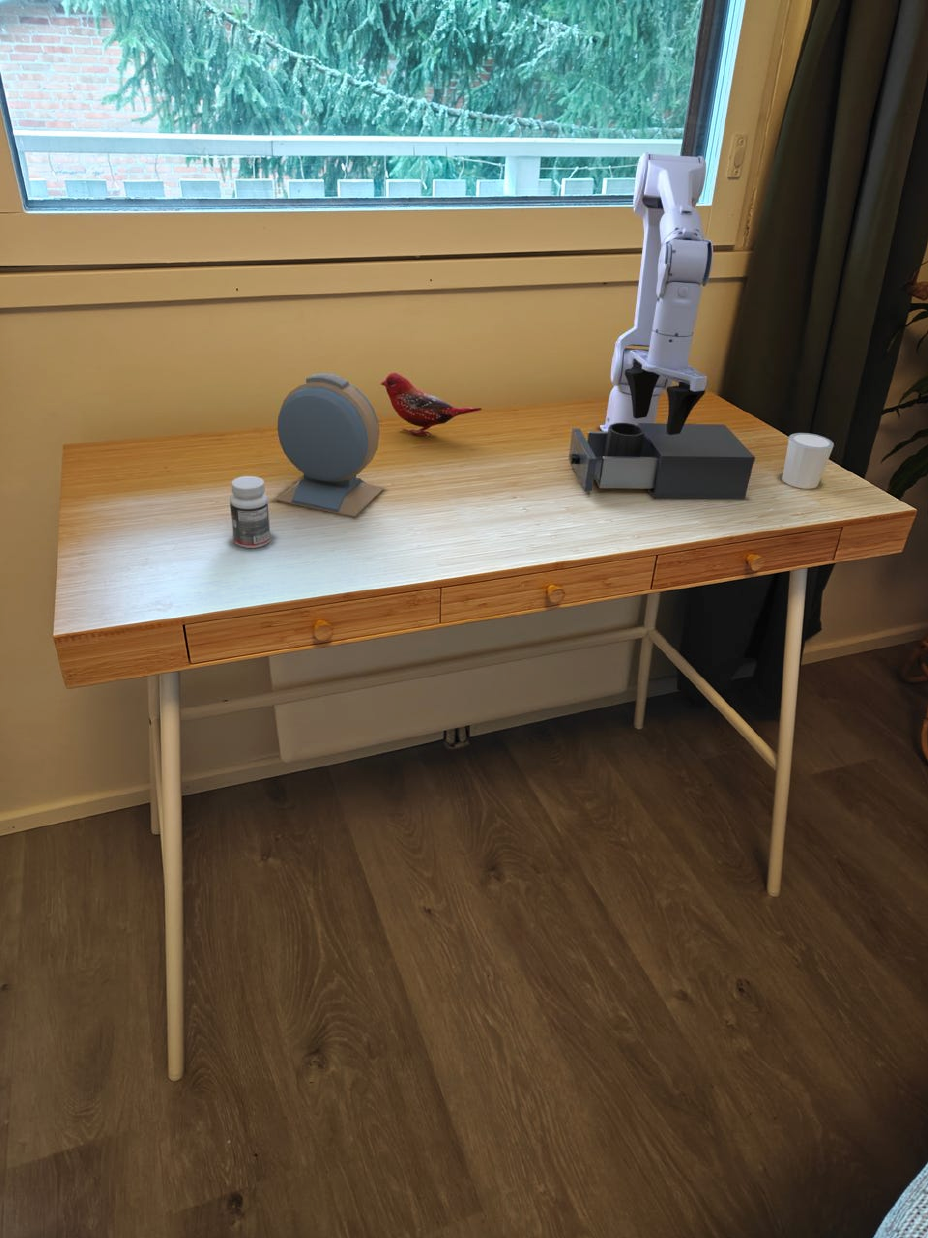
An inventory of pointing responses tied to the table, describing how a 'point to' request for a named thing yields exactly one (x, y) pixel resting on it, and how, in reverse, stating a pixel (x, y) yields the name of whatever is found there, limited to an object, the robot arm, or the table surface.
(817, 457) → the white cylinder
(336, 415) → the alarm clock
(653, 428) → the dark grey cabinet
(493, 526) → the table surface
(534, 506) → the table surface
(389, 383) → the decorative bird figurine
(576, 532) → the table surface
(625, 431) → the dark grey faceted cup
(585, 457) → the drawer
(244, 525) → the pill bottle
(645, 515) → the table surface
